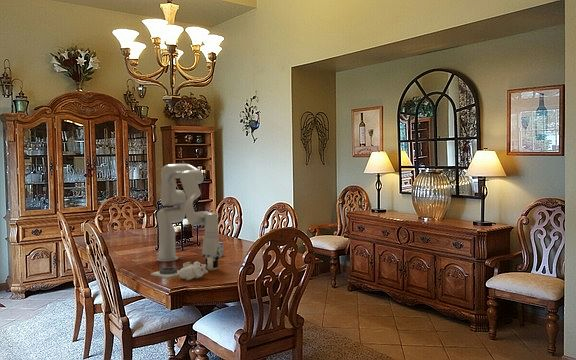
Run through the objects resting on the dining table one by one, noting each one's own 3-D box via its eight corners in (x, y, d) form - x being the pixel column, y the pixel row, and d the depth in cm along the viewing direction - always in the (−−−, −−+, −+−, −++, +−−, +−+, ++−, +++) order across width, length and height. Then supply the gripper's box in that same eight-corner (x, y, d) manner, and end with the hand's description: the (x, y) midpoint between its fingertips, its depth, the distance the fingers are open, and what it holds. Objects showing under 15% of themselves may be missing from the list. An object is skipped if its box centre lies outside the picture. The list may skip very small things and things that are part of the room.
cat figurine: (177, 262, 261) (205, 256, 267) (175, 267, 268) (203, 261, 274) (181, 280, 257) (210, 273, 263) (179, 284, 264) (207, 278, 270)
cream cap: (205, 269, 286) (205, 257, 285) (211, 267, 290) (211, 255, 290) (212, 270, 283) (211, 258, 283) (218, 268, 287) (218, 256, 287)
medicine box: (212, 257, 317) (212, 244, 317) (208, 256, 321) (208, 242, 320) (223, 256, 322) (223, 242, 321) (220, 255, 325) (219, 241, 325)
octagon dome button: (150, 274, 273) (150, 269, 273) (169, 270, 284) (169, 265, 284) (167, 278, 266) (167, 273, 266) (185, 273, 276) (185, 268, 276)
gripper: (195, 234, 287) (196, 266, 288) (218, 237, 277) (218, 270, 278) (205, 232, 293) (205, 263, 294) (227, 235, 284) (227, 267, 285)
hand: (211, 266), depth 286 cm, fingers closed on cream cap, 4 cm apart
